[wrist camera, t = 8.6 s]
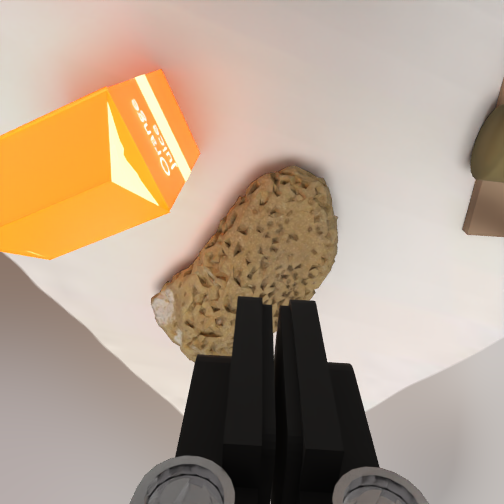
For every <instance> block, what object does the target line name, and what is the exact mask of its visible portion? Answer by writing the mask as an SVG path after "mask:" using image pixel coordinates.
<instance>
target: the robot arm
mask: <svg viewBox="0 0 504 504" xmlns="http://www.w3.org/2000/svg"><path fill="white" fill-rule="evenodd" d="M270 499H271V504H429V503H428V502H427V500H426V499H425V497H424V496H423V494H422V493H421V492H420V491H419V490H418V489H417V488H416V487H415V486H414V485H413V484H412V483H411V482H410V481H408V480H407V479H405V478H403V477H402V476H400V475H398V474H397V473H395V472H392V471H389V470H386V469H383V468H380V467H379V464H378V460H377V456H376V453H375V449H374V445H373V441H372V437H371V434H370V430H369V426H368V422H367V419H366V415H365V411H364V407H363V404H362V400H361V396H360V392H359V389H358V385H357V381H356V377H355V374H354V370H353V367H352V365H351V364H348V363H332V362H327V358H326V353H325V348H324V343H323V337H322V332H321V327H320V322H319V317H318V312H317V306H316V302H315V301H309V300H293V299H290V300H289V306H283V305H280V306H279V314H278V324H277V335H276V345H275V355H274V350H273V317H272V305H267V304H263V298H261V297H245V296H238V299H237V309H236V319H235V329H234V339H233V349H232V356H220V355H203V354H198V355H197V357H196V361H195V365H194V370H193V375H192V380H191V384H190V389H189V394H188V399H187V403H186V408H185V413H184V418H183V423H182V427H181V433H180V437H179V442H178V447H177V451H176V456H175V458H170V459H168V460H166V461H164V462H162V463H160V464H158V465H156V466H155V467H154V468H153V469H151V470H150V471H149V472H148V473H147V474H146V475H145V476H144V477H143V479H142V481H141V482H140V484H139V485H138V487H137V488H136V491H135V493H134V495H133V497H132V499H131V502H130V504H270Z"/></svg>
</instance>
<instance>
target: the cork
mask: <svg viewBox="0 0 504 504" xmlns="http://www.w3.org/2000/svg"><path fill="white" fill-rule="evenodd" d="M470 163H471V173H472V176H473V177H474V178H475V179H477V180H484V181H493V182H502V183H504V104H502V105H500V106H498V107H497V108H496V109H495V110H494V111H493V112H492V113H491V114H490V115H489V117H488V118H487V119H486V121H485V122H484V124H483V126H482V128H481V129H480V131H479V134H478V136H477V138H476V141H475V144H474V147H473V150H472V155H471V162H470Z"/></svg>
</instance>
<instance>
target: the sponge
mask: <svg viewBox="0 0 504 504" xmlns="http://www.w3.org/2000/svg"><path fill="white" fill-rule="evenodd" d="M337 218H338V217H337V216H334V213H333V207H332V198H331V194H330V191H329V188H328V187H327V185H326V183H325V180H324V179H323V178H317V177H316V176H314V175H313V174H312V173H310V172H308V171H305V170H303V169H301V168H299V167H297V166H288V167H286V168H284V169H282V170H280V171H278V172H276V173H269V174H264V175H262V176H261V177H260V178H258V179H257V180H255V181H254V182H252V183H251V184H250V186H249V187H248V188H247V190H246V194H245V196H243V197H241V196H239V198H238V200H237V201H236V203H235V204H234V205H233V207H232V208H231V209H230V210H229V212H228V214H227V216H226V217H224V218H223V219H222V220H221V221H220V224H219V227H218V230H217V232H216V234H215V235H213V236H212V238H211V239H210V240H209V242H208V243H207V244H206V245H205V246H204V248H203V249H202V251H200V253H199V256H198V257H197V258H196V259H195V261H194V263H193V264H192V265H190V266H189V267H188V269H185V270H182V271H181V272H179V273H177V274H175V275H174V276H173V278H172V281H171V282H169V281H167V282H166V284H165V285H164V286H163V288H162V290H161V291H160V293H158V294H156V295H155V296H153V297H152V298H151V305H152V308H153V311H154V314H155V319H156V321H157V323H158V325H159V326H160V327H161V328H162V329H163V330H164V331H165V333H166V334H167V335H168V337H169V338H170V339H171V340H172V341H173V342H174V343H175V344H177V345H179V346H180V349H181V351H182V352H183V353H184V354H185V355H186V356H187V358H188V359H189V360H192V361H193V362H194V363H195V361H196V357H197V355H198V354H203V355H220V356H232V349H233V339H234V329H235V319H236V309H237V299H238V296H245V297H261V298H263V304H267V305H272V317H273V333H274V332H276V331H277V324H278V314H279V306H280V305H283V306H289V300H290V299H293V300H310V299H311V298H312V297H313V295H314V294H315V293H316V292H315V290H314V289H317V288H319V286H320V285H321V283H322V282H323V280H324V279H325V278H326V276H327V275H328V273H329V272H330V271H331V268H332V265H333V264H334V262H335V260H334V258H335V256H336V254H337V242H338V236H337V234H338V232H337Z"/></svg>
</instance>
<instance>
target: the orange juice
mask: <svg viewBox="0 0 504 504" xmlns="http://www.w3.org/2000/svg"><path fill="white" fill-rule="evenodd" d="M199 155H200V152H199V149H198V147H197V145H196V143H195V141H194V139H193V136H192V134H191V132H190V130H189V128H188V126H187V123H186V121H185V119H184V117H183V115H182V113H181V111H180V108H179V106H178V104H177V102H176V100H175V98H174V95H173V93H172V91H171V89H170V87H169V85H168V82H167V80H166V78H165V76H164V74H163V72H162V69H160V70H157V71H154V72H151V73H148V74H143V75H140V76H137V77H135V78H132V79H130V80H128V81H125V82H122V83H119V84H116V85H113V86H110V87H108V88H107V87H104V88H102V89H100V90H97V91H95V92H93V93H91V94H89V95H87V96H85V97H82V98H80V99H78V100H76V101H74V102H72V103H70V104H67V105H65V106H63V107H61V108H59V109H57V110H55V111H52V112H50V113H48V114H46V115H44V116H42V117H39V118H37V119H35V120H33V121H31V122H29V123H27V124H24V125H22V126H20V127H18V128H16V129H14V130H12V131H9V132H7V133H5V134H3V135H1V136H0V251H1V252H7V253H13V254H19V255H24V256H30V257H36V258H42V259H48V260H51V259H54V258H56V257H59V256H61V255H64V254H66V253H69V252H71V251H74V250H76V249H79V248H81V247H84V246H86V245H89V244H91V243H94V242H96V241H99V240H101V239H104V238H107V237H109V236H112V235H114V234H117V233H119V232H122V231H124V230H127V229H129V228H132V227H134V226H137V225H139V224H142V223H144V222H147V221H149V220H152V219H154V218H157V217H159V216H162V215H164V214H167V213H170V209H171V208H172V206H173V204H174V202H175V200H176V198H177V196H178V194H179V192H180V191H181V189H182V187H183V185H184V183H185V182H186V181H187V179H188V177H189V175H190V173H191V170H192V168H193V166H194V164H195V162H196V160H197V159H198V157H199Z"/></svg>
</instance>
